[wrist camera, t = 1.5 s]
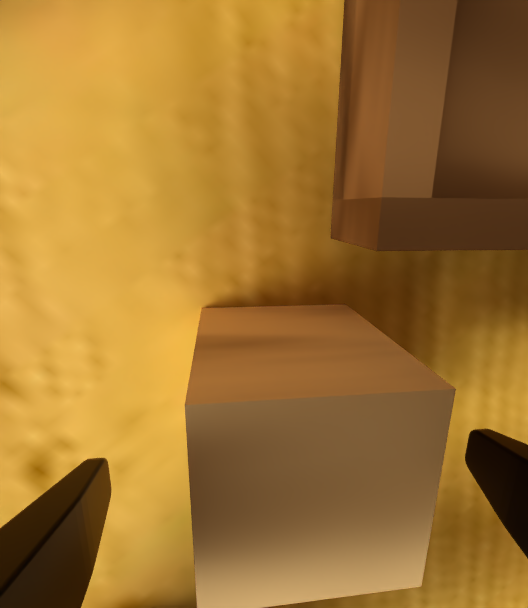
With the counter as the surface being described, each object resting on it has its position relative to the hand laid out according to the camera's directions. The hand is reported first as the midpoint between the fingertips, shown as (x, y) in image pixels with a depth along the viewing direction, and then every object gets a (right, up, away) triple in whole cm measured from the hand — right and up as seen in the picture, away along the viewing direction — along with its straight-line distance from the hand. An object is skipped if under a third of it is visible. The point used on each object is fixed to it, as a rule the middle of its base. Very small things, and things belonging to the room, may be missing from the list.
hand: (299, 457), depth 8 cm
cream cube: (0, +1, +4) cm, 4 cm away
